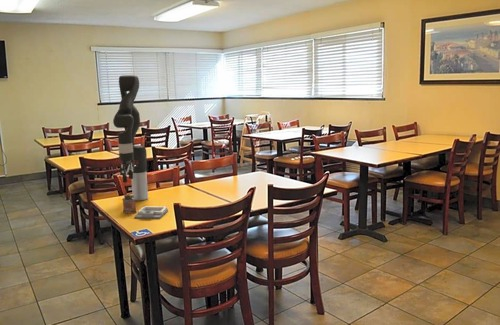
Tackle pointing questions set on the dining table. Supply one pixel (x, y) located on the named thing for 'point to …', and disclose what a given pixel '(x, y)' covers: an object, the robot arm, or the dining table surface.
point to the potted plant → (129, 204)
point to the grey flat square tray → (151, 212)
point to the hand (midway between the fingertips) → (128, 180)
